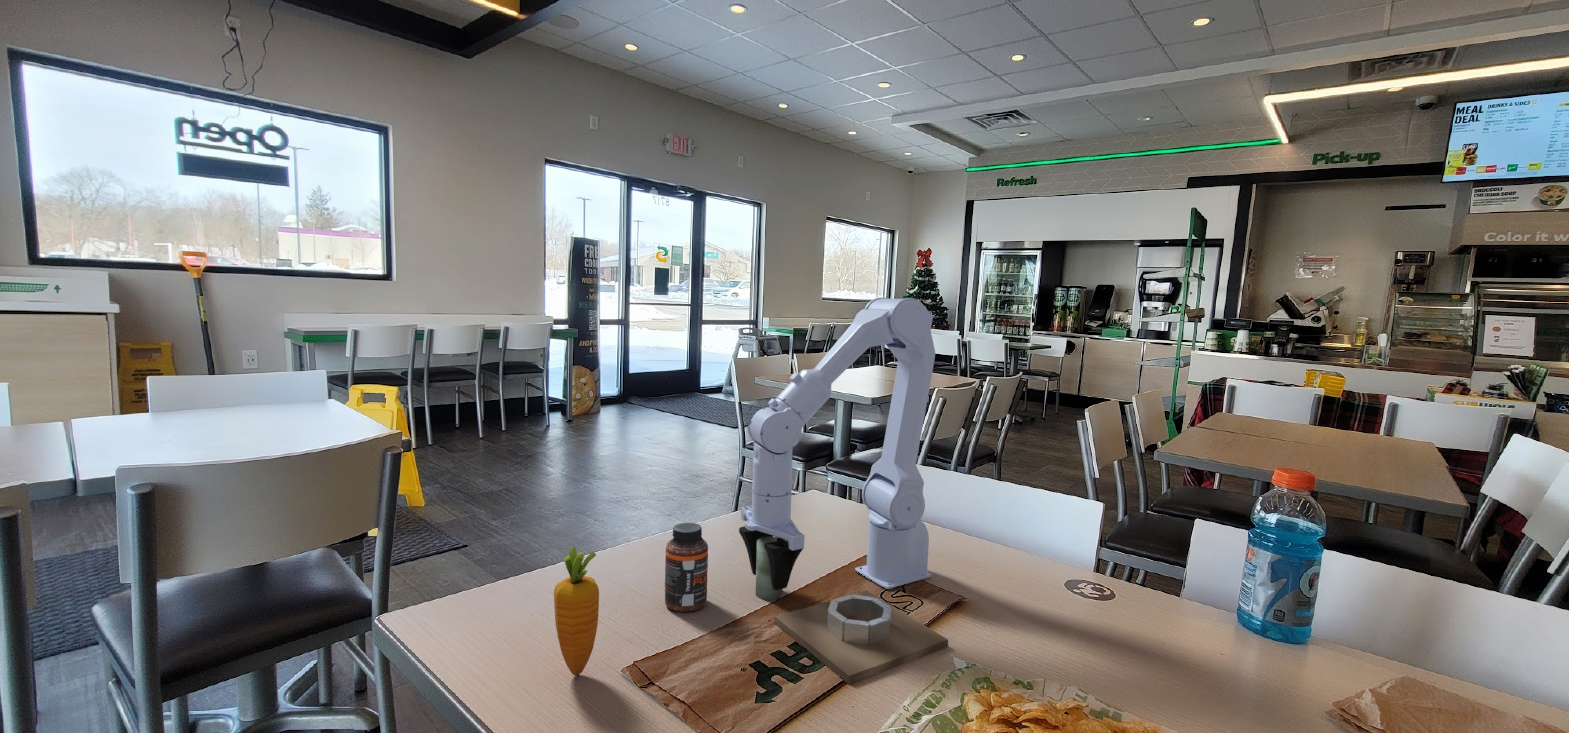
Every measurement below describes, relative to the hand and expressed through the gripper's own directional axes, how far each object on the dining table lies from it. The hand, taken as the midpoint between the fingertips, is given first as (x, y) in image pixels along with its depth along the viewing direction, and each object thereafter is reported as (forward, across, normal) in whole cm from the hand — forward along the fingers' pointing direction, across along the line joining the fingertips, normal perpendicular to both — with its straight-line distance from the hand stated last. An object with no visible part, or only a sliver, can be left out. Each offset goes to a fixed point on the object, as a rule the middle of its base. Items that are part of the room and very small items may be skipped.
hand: (769, 580), depth 96 cm
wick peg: (+2, 0, 0) cm, 2 cm away
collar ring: (+2, +16, +4) cm, 17 cm away
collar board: (+2, +16, +4) cm, 17 cm away
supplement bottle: (+2, -3, -12) cm, 13 cm away
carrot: (+2, +7, -30) cm, 31 cm away
